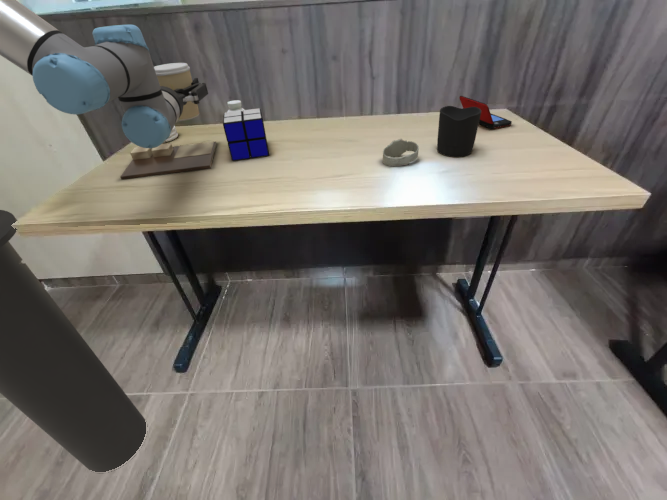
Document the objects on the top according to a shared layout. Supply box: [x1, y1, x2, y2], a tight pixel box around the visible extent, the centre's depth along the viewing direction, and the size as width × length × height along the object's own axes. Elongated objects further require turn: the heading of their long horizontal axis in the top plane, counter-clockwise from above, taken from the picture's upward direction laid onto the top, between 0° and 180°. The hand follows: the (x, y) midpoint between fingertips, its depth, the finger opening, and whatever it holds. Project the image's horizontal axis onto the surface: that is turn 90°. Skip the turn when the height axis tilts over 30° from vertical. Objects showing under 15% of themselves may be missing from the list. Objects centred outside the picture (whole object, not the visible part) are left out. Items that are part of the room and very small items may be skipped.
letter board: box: [120, 141, 217, 180], centre depth 95 cm, size 22×18×3 cm
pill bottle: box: [226, 99, 245, 112], centre depth 107 cm, size 5×5×10 cm
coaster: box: [162, 125, 179, 144], centre depth 110 cm, size 10×10×4 cm
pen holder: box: [436, 105, 481, 158], centre depth 87 cm, size 9×9×10 cm
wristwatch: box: [382, 138, 420, 167], centre depth 85 cm, size 9×6×5 cm
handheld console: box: [458, 95, 513, 130], centre depth 103 cm, size 12×11×7 cm
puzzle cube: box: [222, 107, 270, 162], centre depth 95 cm, size 10×10×10 cm
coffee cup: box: [154, 62, 200, 122], centre depth 89 cm, size 9×9×12 cm
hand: (180, 85), depth 93 cm, fingers closed on coffee cup, 8 cm apart
